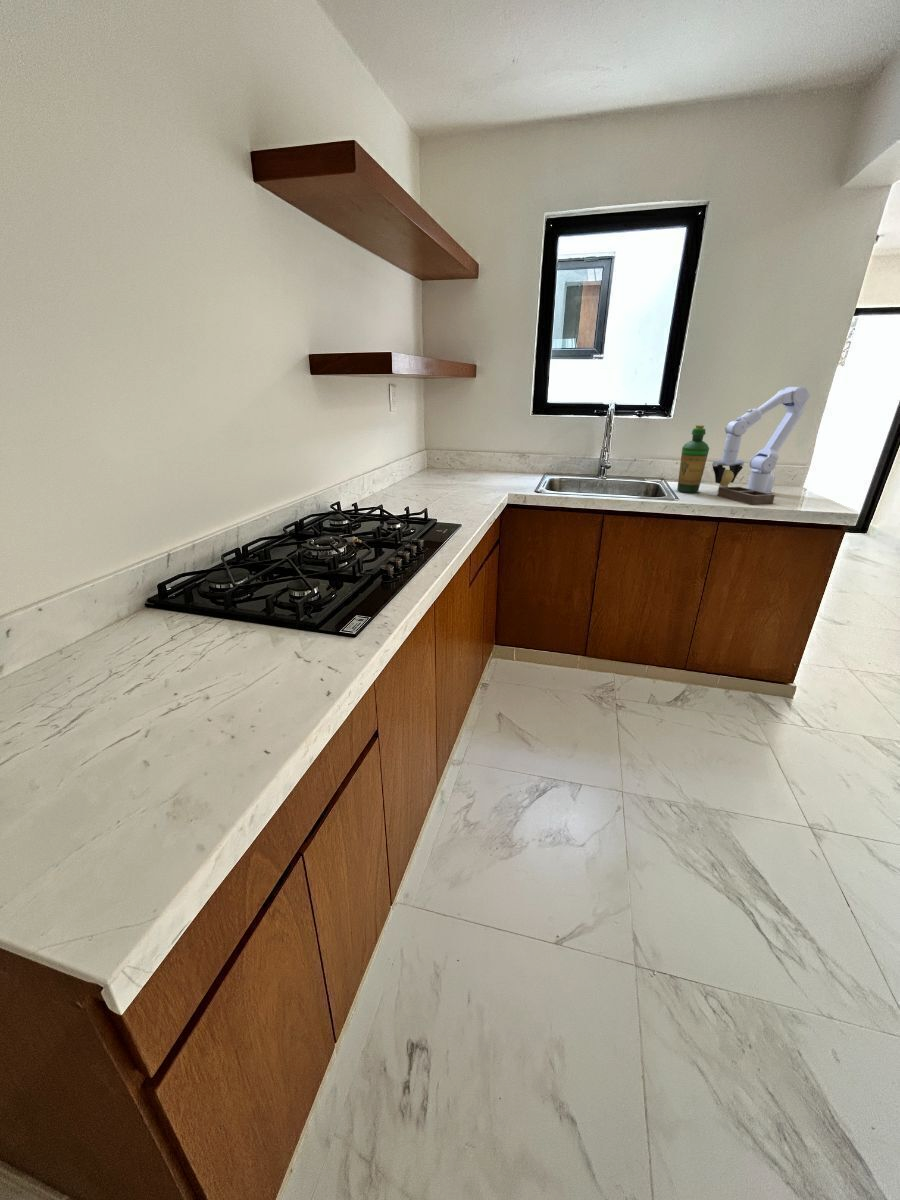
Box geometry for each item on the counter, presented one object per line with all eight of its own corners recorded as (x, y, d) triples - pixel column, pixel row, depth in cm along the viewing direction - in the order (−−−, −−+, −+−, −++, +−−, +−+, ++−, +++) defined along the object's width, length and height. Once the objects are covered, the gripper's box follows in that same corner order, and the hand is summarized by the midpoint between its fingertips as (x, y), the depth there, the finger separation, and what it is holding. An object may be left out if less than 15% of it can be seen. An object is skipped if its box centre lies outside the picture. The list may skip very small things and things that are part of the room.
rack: (737, 494, 217) (739, 486, 216) (772, 503, 200) (775, 494, 199) (717, 495, 215) (719, 487, 213) (751, 504, 198) (753, 495, 196)
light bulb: (726, 491, 224) (731, 468, 220) (732, 494, 218) (737, 470, 214) (711, 491, 225) (716, 468, 221) (717, 493, 219) (722, 470, 215)
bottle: (674, 492, 220) (686, 425, 209) (674, 488, 229) (686, 424, 218) (701, 494, 216) (714, 426, 206) (699, 490, 226) (712, 425, 215)
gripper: (723, 451, 209) (716, 484, 214) (752, 451, 212) (744, 483, 218) (711, 450, 215) (705, 481, 221) (739, 449, 219) (732, 480, 224)
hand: (724, 482), depth 220 cm, fingers closed on light bulb, 6 cm apart
